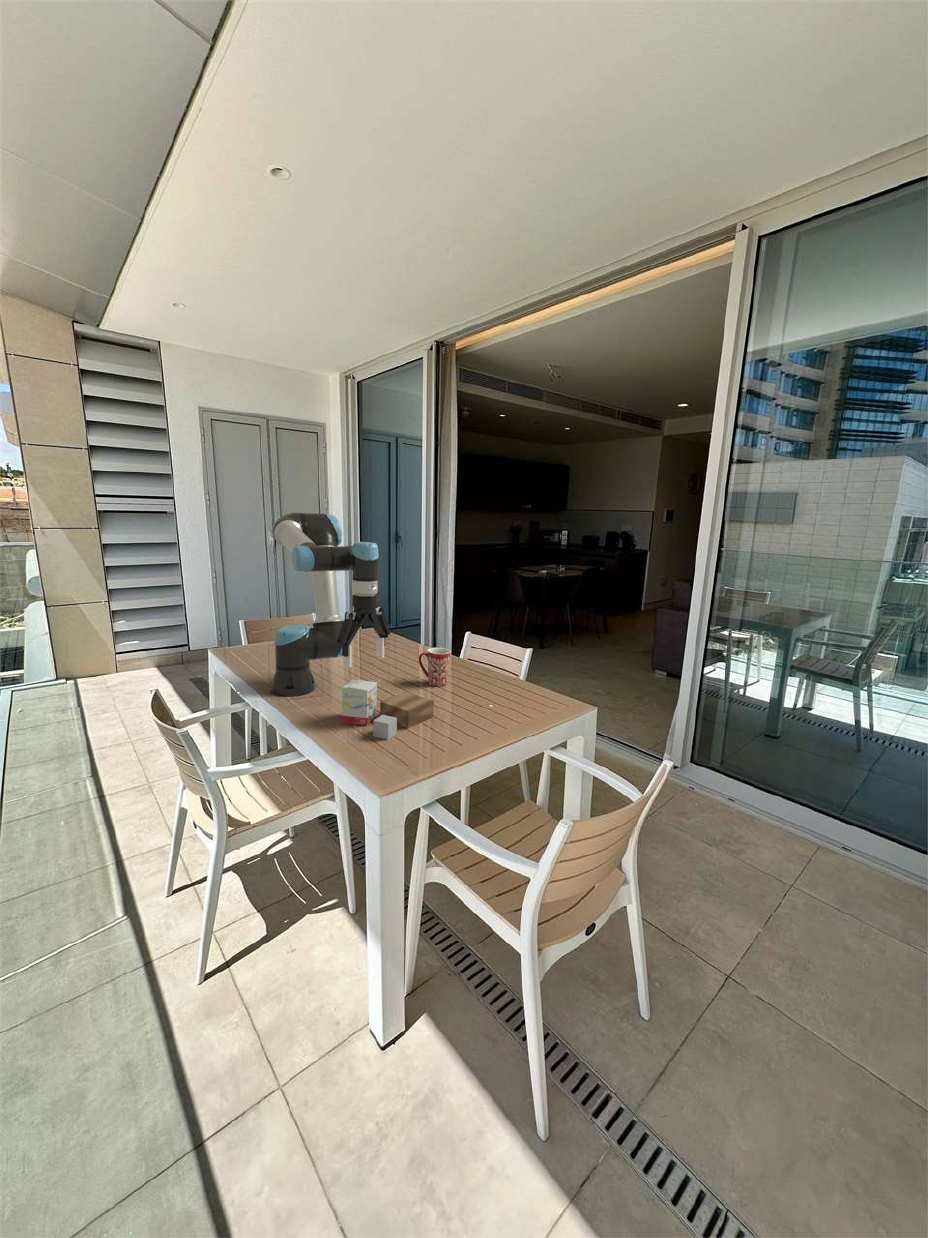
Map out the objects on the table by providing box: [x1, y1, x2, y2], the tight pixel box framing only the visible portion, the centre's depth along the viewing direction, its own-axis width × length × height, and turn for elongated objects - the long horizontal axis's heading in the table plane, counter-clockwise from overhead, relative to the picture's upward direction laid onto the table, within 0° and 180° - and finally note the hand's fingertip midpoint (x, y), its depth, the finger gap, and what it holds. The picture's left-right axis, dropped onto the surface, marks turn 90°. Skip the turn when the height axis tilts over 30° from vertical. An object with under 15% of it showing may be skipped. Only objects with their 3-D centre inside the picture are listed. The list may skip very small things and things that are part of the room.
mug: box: [418, 647, 451, 688], centre depth 194 cm, size 13×9×14 cm
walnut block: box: [379, 691, 435, 729], centre depth 160 cm, size 12×12×6 cm
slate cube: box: [372, 715, 398, 741], centre depth 147 cm, size 5×5×5 cm
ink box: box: [341, 679, 378, 727], centre depth 157 cm, size 9×9×12 cm
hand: (364, 661), depth 155 cm, fingers open, 13 cm apart
